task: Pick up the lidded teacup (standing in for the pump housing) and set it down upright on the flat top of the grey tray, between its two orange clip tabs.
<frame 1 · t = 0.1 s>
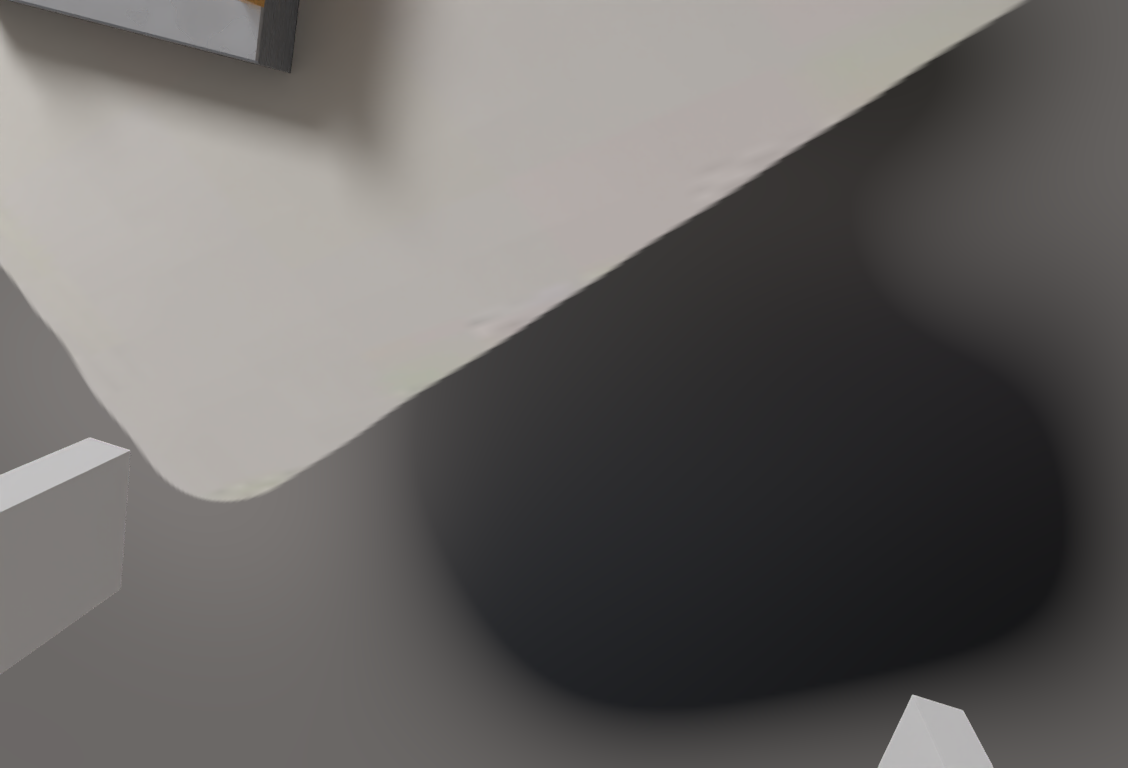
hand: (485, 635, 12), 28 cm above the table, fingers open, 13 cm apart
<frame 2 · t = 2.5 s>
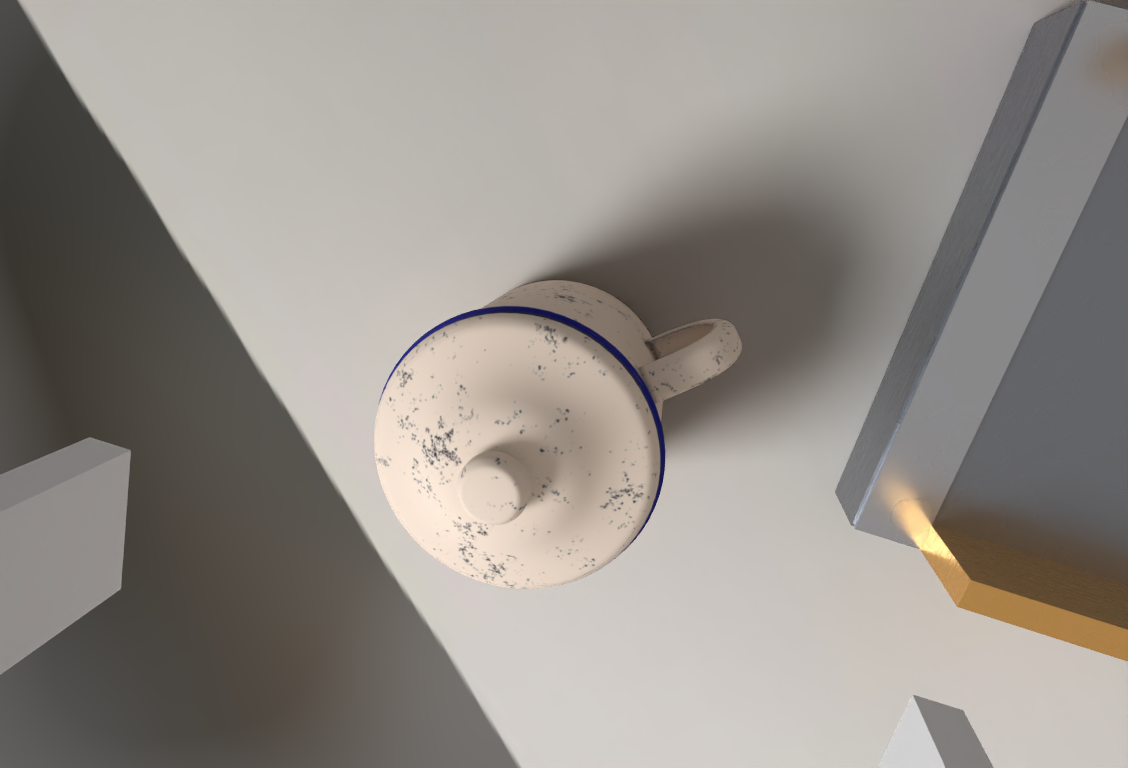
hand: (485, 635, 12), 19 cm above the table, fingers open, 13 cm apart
teacup with lid: (592, 367, 30), on the table
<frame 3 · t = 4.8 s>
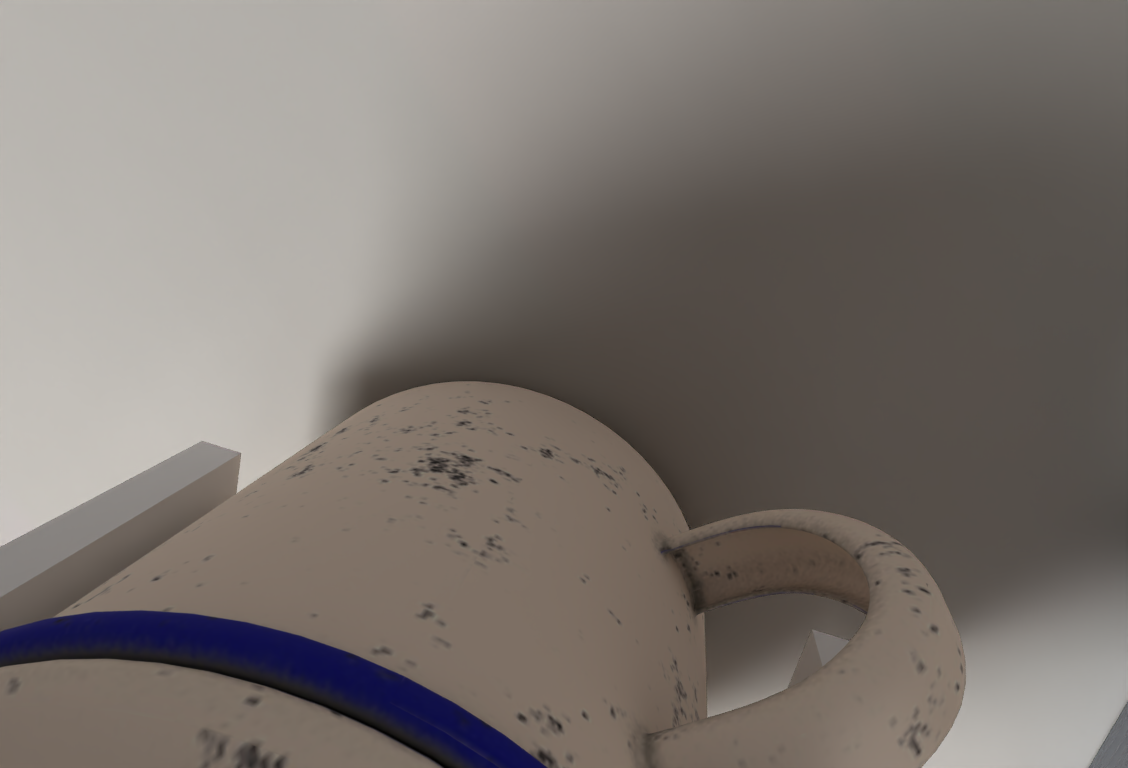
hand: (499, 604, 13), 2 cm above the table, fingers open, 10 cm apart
teacup with lid: (552, 549, 15), on the table, touching gripper
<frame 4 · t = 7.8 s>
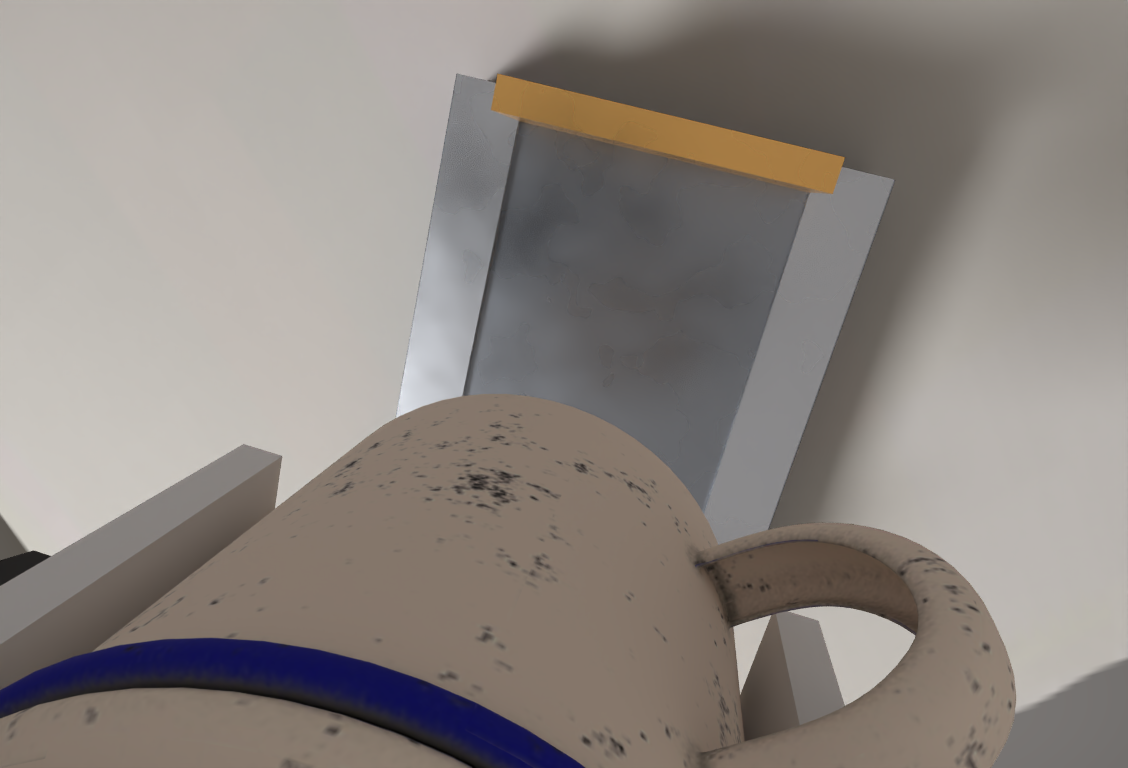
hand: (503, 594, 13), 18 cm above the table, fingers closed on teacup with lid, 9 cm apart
grey tray: (611, 358, 29), on the table
teacup with lid: (578, 560, 15), point 16 cm above the table, touching gripper
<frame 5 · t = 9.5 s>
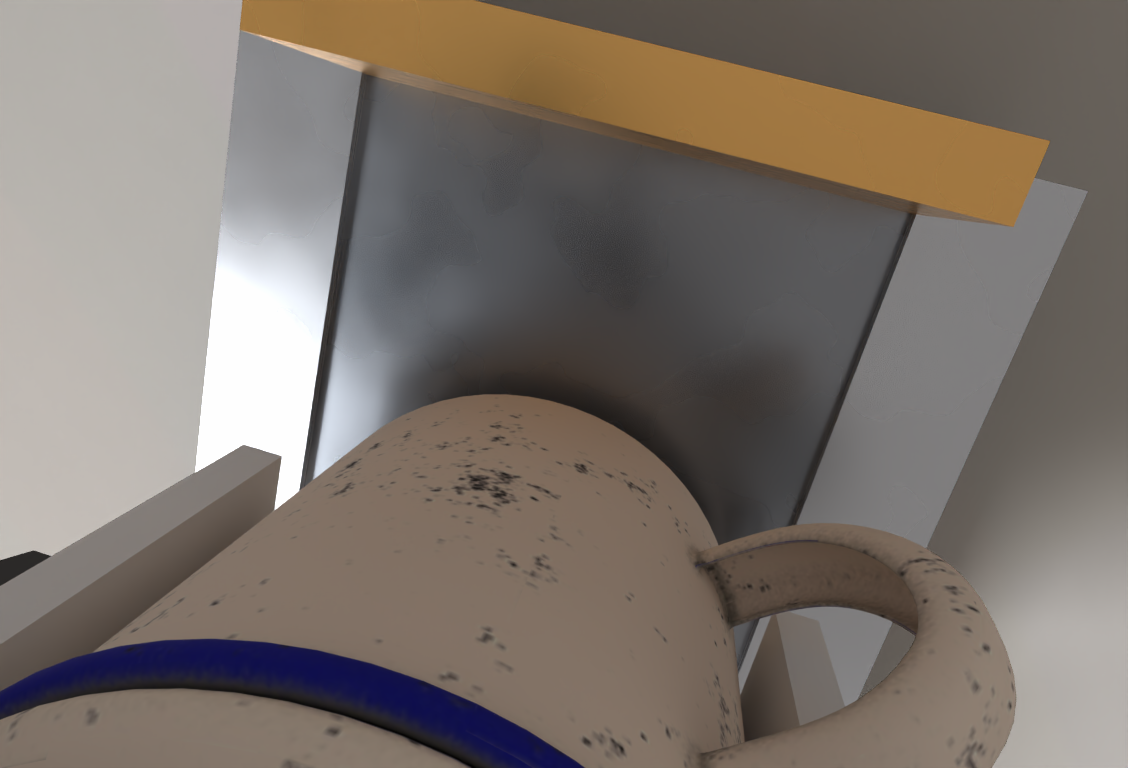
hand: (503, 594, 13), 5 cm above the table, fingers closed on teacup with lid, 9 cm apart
grey tray: (553, 476, 18), on the table
teacup with lid: (578, 560, 15), point 3 cm above the table, touching gripper
when the fingers open (5 cm above the table, at t = 10.8 s): teacup with lid stays where it is, resting on grey tray.
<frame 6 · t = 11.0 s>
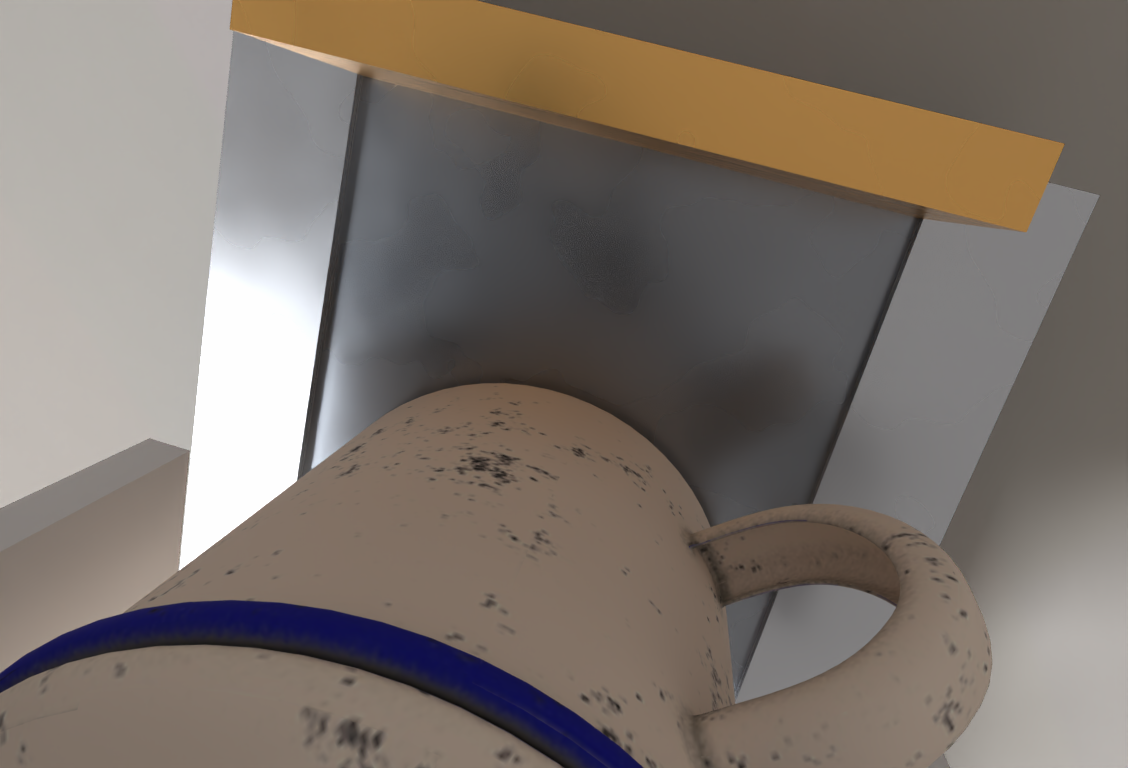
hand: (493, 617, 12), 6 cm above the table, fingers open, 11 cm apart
grey tray: (552, 483, 18), on the table
teacup with lid: (575, 546, 15), point 3 cm above the table, touching grey tray
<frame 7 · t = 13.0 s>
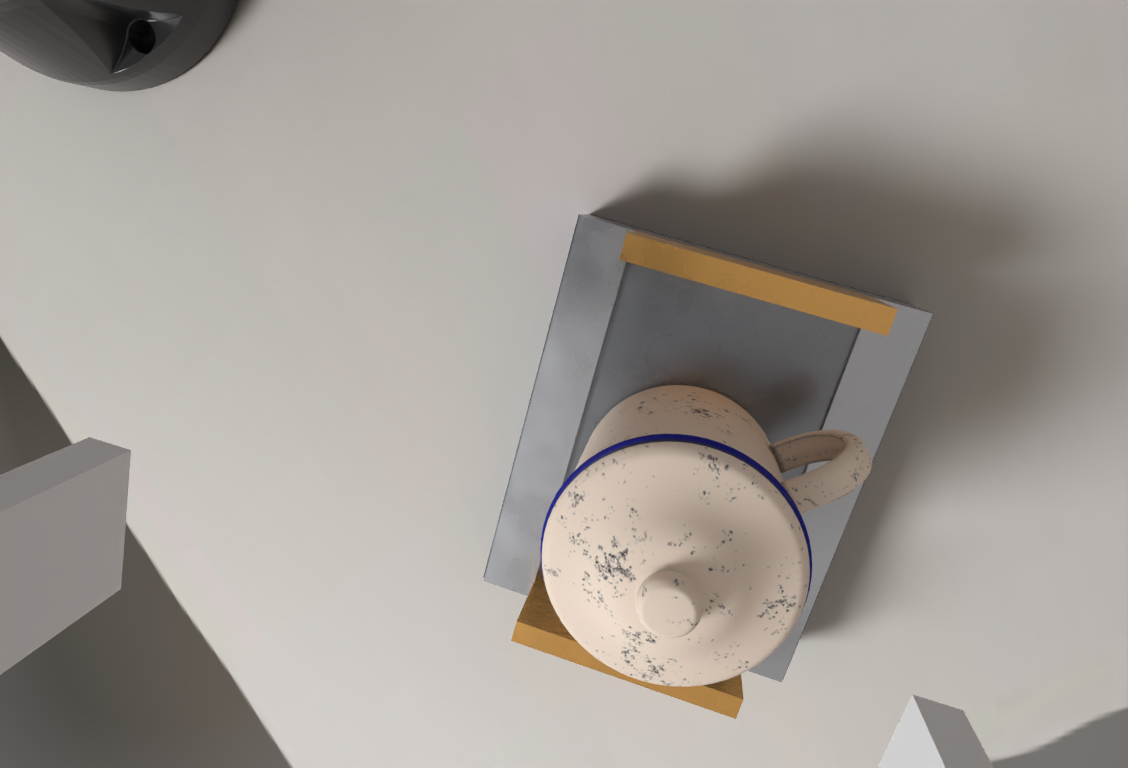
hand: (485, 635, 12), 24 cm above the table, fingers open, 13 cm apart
grey tray: (686, 438, 35), on the table
teacup with lid: (707, 462, 32), point 3 cm above the table, touching grey tray
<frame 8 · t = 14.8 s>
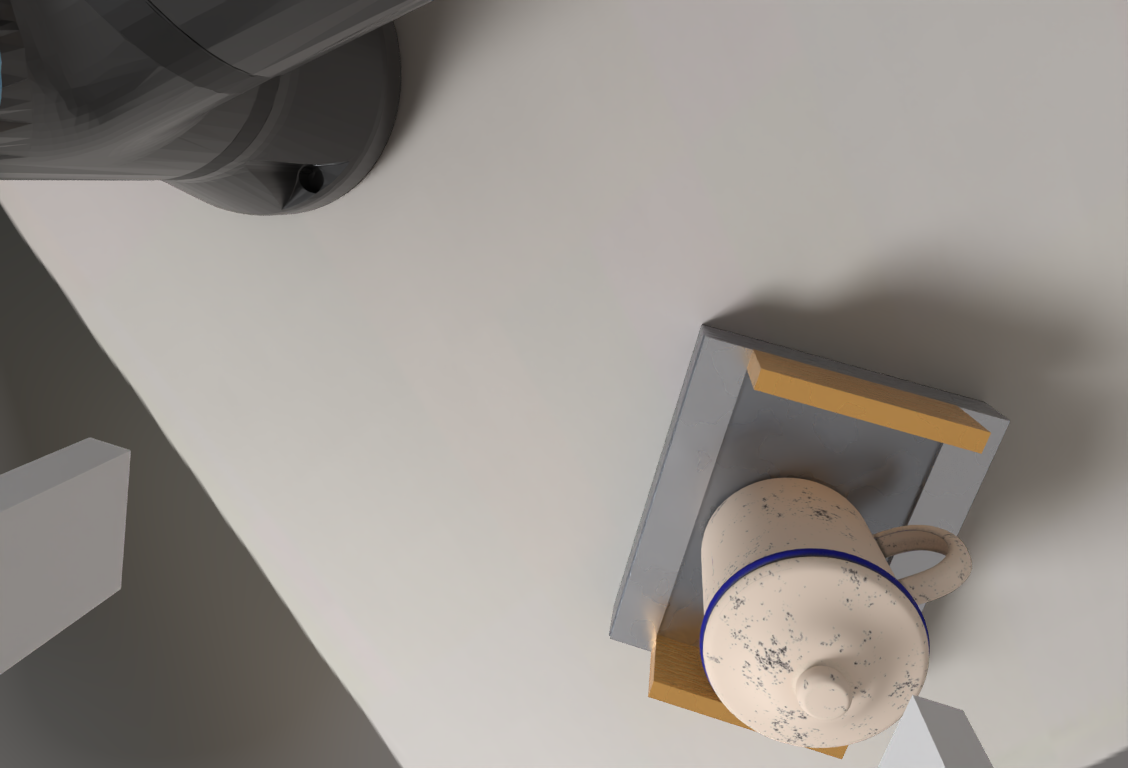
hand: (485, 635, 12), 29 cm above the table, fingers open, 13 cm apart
grey tray: (784, 512, 40), on the table
teacup with lid: (810, 539, 38), point 3 cm above the table, touching grey tray
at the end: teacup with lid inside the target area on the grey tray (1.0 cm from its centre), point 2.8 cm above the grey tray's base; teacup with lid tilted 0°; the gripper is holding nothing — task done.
